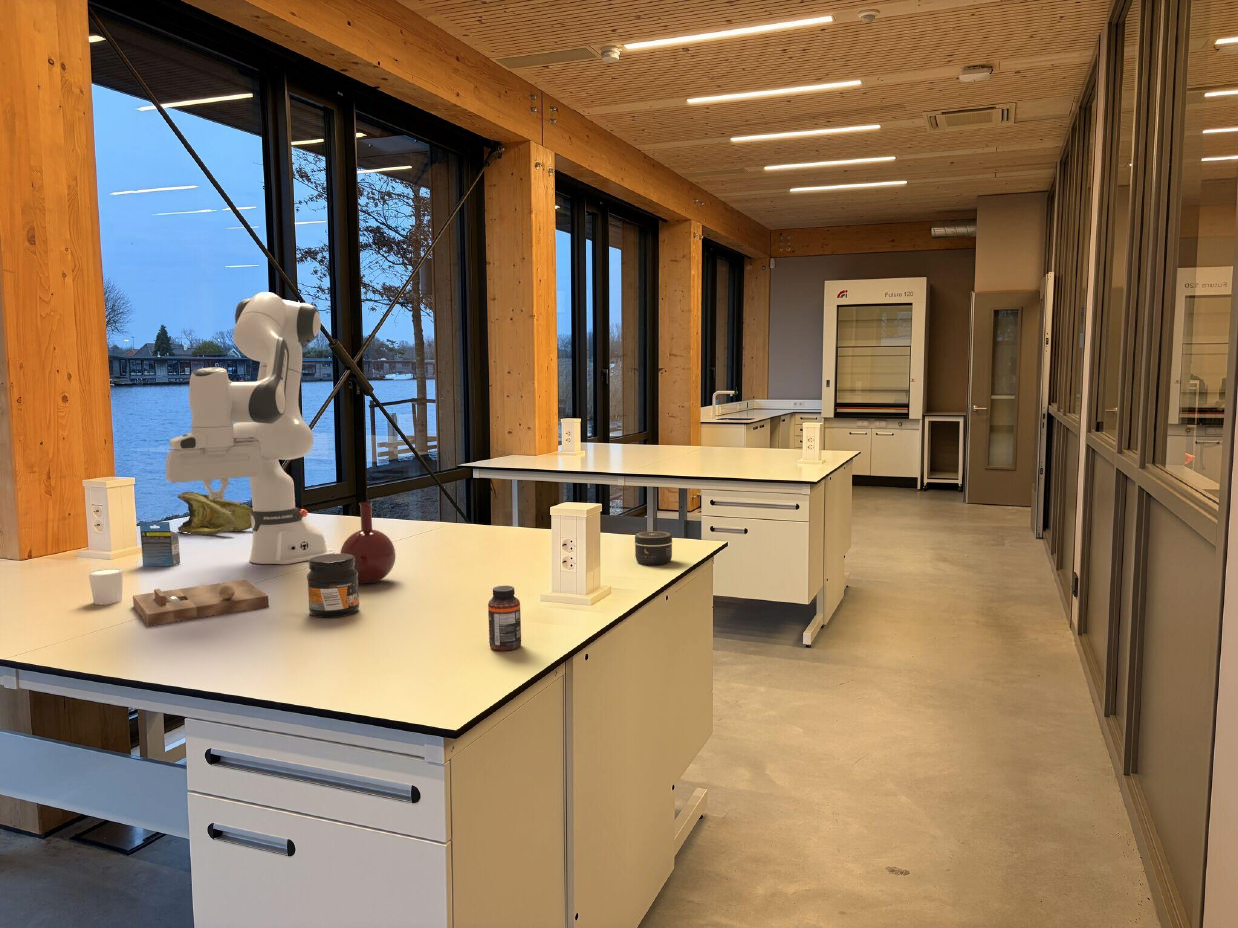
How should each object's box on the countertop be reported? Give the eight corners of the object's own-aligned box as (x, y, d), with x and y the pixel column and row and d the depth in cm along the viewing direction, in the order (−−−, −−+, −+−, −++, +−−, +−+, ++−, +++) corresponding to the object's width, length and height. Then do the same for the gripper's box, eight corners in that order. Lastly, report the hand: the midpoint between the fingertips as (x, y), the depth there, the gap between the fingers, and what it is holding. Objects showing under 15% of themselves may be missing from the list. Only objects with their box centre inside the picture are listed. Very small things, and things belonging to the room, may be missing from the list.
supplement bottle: (490, 642, 170) (488, 584, 169) (521, 641, 171) (520, 583, 169) (488, 652, 164) (486, 592, 163) (521, 651, 165) (519, 591, 163)
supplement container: (331, 621, 186) (328, 564, 185) (298, 614, 192) (295, 559, 191) (370, 609, 195) (367, 555, 194) (337, 603, 201) (334, 551, 200)
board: (245, 589, 215) (244, 571, 215) (268, 606, 199) (267, 586, 199) (133, 606, 201) (132, 586, 201) (148, 626, 185) (146, 604, 184)
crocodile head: (153, 521, 288) (175, 483, 297) (189, 549, 300) (209, 512, 309) (216, 516, 278) (237, 477, 287) (250, 545, 290) (269, 507, 299)
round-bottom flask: (407, 579, 224) (404, 499, 222) (372, 591, 212) (368, 507, 210) (366, 574, 229) (362, 497, 227) (329, 586, 217) (325, 504, 215)
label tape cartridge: (181, 563, 246) (178, 519, 245) (172, 566, 242) (169, 521, 241) (150, 563, 247) (147, 519, 246) (141, 566, 243) (138, 521, 242)
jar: (629, 565, 236) (629, 536, 235) (642, 557, 245) (642, 530, 244) (665, 567, 232) (665, 538, 231) (677, 559, 241) (677, 532, 241)
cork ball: (233, 596, 198) (232, 582, 198) (236, 599, 196) (235, 585, 195) (217, 598, 196) (216, 584, 196) (221, 601, 194) (220, 587, 193)
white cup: (132, 598, 208) (129, 569, 207) (106, 606, 202) (104, 575, 201) (109, 596, 210) (107, 567, 210) (83, 604, 204) (81, 573, 203)
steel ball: (173, 592, 198) (160, 601, 196) (176, 594, 195) (163, 604, 194) (182, 603, 199) (169, 612, 198) (185, 605, 197) (172, 615, 195)
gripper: (257, 435, 213) (260, 493, 215) (162, 440, 201) (166, 501, 203) (264, 437, 208) (267, 496, 209) (167, 442, 196) (171, 504, 197)
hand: (216, 499), depth 206 cm, fingers closed
